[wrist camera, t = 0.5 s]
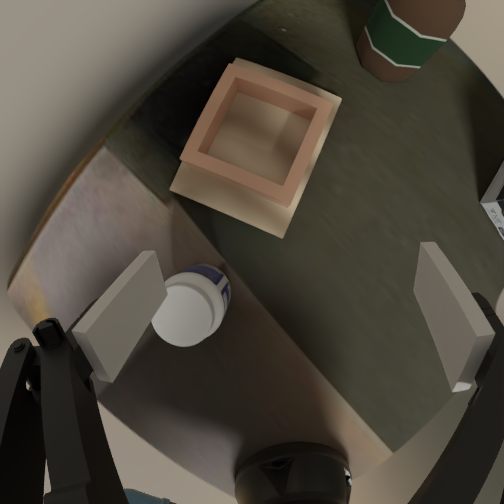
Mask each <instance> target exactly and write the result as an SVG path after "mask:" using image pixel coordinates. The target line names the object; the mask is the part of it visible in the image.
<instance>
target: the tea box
mask: <svg viewBox="0 0 504 504" xmlns="http://www.w3.org/2000/svg"><path fill="white" fill-rule="evenodd" d="M480 204H481V205H482V206H483V207H484V209H485V211H486V212H487V214H488V216H489V217H490V219H491V220H492V222H493V223H494V225H495V226H496V228H497V230H498V232H499V233H500V235H501V237H502V238H503V240H504V161H503V163H502V165H501V167H500V168H499V170H498V172H497V174H496V175H495V177H494V179H493V181H492V182H491V184H490V186H489V187H488V189H487V191H486V192H485V194H484V196H483V197H482V199H481V201H480Z"/></svg>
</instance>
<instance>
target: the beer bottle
mask: <svg viewBox="0 0 504 504" xmlns="http://www.w3.org/2000/svg"><path fill="white" fill-rule="evenodd" d="M465 7H466V3H465V0H378V2H377V4H376V6H375V8H374V10H373V12H372V14H371V16H370V18H369V19H368V21H367V23H366V25H365V27H364V29H363V31H362V33H361V35H360V37H359V39H358V42H357V44H356V48H357V52H358V55H359V58H360V61H361V64H362V67H363V68H365V69H366V70H367V71H369V72H370V73H371V74H373V75H374V76H375V77H377V78H378V79H379V80H381V81H388V82H405V81H406V80H407V79H409V78H410V77H411V76H412V75H413V74H414V73H415V72H416V71H417V70H418V69H419V68H420V67H421V66H422V65H423V64H424V63H425V62H426V61H427V60H428V59H429V58H430V57H431V56H432V55H433V54H434V53H435V52H436V51H437V50H438V49H439V48H440V47H441V46H442V45H443V44H444V43H445V42H446V41H447V40H448V38H449V37H450V36H451V34H452V33H453V32H454V31H455V29H456V28H457V26H458V24H459V23H460V21H461V20H462V18H463V15H464V11H465Z"/></svg>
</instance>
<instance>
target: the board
mask: <svg viewBox="0 0 504 504" xmlns="http://www.w3.org/2000/svg"><path fill="white" fill-rule="evenodd" d="M233 65H236V66H239V67H243V68H246V69H249V70H252V71H254V72H257V73H260V74H263V75H266V76H269V77H271V78H274V79H277V80H279V81H282V82H285V83H287V84H290V85H292V86H295V87H297V88H300V89H302V90H304V91H307V92H309V93H311V94H314V95H316V96H318V97H321V98H323V99H325V100H327V101H330V102H332V103H334V104H333V106H332V109H331V111H330V114H329V116H328V118H327V121H326V123H325V126H324V128H323V130H322V133H321V135H320V137H319V140H318V142H317V144H316V147H315V149H314V151H313V154H312V156H311V159H310V161H309V163H308V166H307V168H306V170H305V173H304V175H303V177H302V179H301V182H300V184H299V186H298V189H297V191H296V193H295V196H294V198H293V200H292V203H291V205H290V206H289V207H288V208H285V207H283V206H280V205H278V204H276V203H274V202H271V201H269V200H267V199H265V198H262V197H260V196H258V195H255V194H253V193H251V192H248V191H246V190H244V189H241V188H239V187H237V186H234V185H232V184H229V183H227V182H225V181H222V180H220V179H217V178H215V177H212V176H210V175H208V174H205V173H203V172H200V171H198V170H195V169H193V168H190V167H188V166H187V165H186V164H185V163H183V162H182V163H181V165H180V167H179V169H178V171H177V174H176V176H175V178H174V180H173V183H172V185H171V187H170V189H169V190H171V191H173V192H175V193H178V194H180V195H182V196H185V197H187V198H190V199H192V200H194V201H197V202H199V203H201V204H204V205H206V206H208V207H211V208H213V209H215V210H218V211H220V212H222V213H225V214H227V215H229V216H232V217H234V218H236V219H239V220H241V221H243V222H245V223H248V224H250V225H252V226H255V227H257V228H259V229H261V230H264V231H266V232H268V233H270V234H273V235H275V236H277V237H280V238H282V239H283V237H284V235H285V232H286V230H287V228H288V225H289V223H290V221H291V219H292V216H293V214H294V212H295V209H296V207H297V205H298V202H299V200H300V198H301V195H302V193H303V191H304V188H305V186H306V184H307V181H308V179H309V177H310V174H311V172H312V170H313V167H314V165H315V163H316V160H317V158H318V156H319V153H320V151H321V148H322V146H323V144H324V141H325V139H326V136H327V134H328V132H329V129H330V127H331V124H332V122H333V120H334V117H335V115H336V112H337V110H338V107H339V105H340V103H341V100H342V98H340V97H338V96H336V95H333V94H331V93H329V92H327V91H325V90H322V89H320V88H318V87H315V86H313V85H311V84H308V83H306V82H303V81H301V80H299V79H296V78H294V77H291V76H288V75H286V74H283V73H281V72H278V71H275V70H272V69H270V68H267V67H264V66H261V65H258V64H255V63H252V62H249V61H246V60H243V59H240V58H237V57H236V59H235V61H234V62H233ZM310 123H311V121H310V120H308V119H305V118H303V117H301V116H298V115H296V114H294V113H291V112H289V111H287V110H284V109H282V108H279V107H277V106H274V105H272V104H269V103H266V102H264V101H261V100H258V99H256V98H253V97H250V96H248V95H245V94H242V93H239V92H238V93H237V95H236V96H235V98H234V100H233V102H232V104H231V106H230V108H229V110H228V112H227V114H226V116H225V118H224V120H223V122H222V124H221V126H220V128H219V130H218V132H217V134H216V136H215V138H214V140H213V142H212V144H211V146H210V148H209V151H208V153H207V155H209V156H211V157H214V158H216V159H219V160H221V161H224V162H226V163H229V164H231V165H234V166H236V167H239V168H241V169H243V170H246V171H248V172H251V173H253V174H255V175H258V176H260V177H262V178H265V179H267V180H269V181H272V182H274V183H276V184H279V185H281V186H283V184H284V182H285V180H286V177H287V175H288V173H289V170H290V168H291V166H292V164H293V161H294V159H295V157H296V155H297V152H298V150H299V148H300V145H301V143H302V141H303V139H304V136H305V134H306V132H307V129H308V127H309V125H310Z"/></svg>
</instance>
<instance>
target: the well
mask: <svg viewBox="0 0 504 504" xmlns="http://www.w3.org/2000/svg"><path fill="white" fill-rule="evenodd" d="M238 92H239V93H242V94H245V95H248V96H250V97H253V98H256V99H258V100H261V101H264V102H266V103H269V104H272V105H274V106H277V107H279V108H282V109H284V110H287V111H289V112H291V113H294V114H296V115H298V116H301V117H303V118H305V119H308V120H310V121H311V123H310V125H309V127H308V129H307V132H306V134H305V136H304V139H303V141H302V143H301V145H300V148H299V150H298V152H297V155H296V157H295V159H294V161H293V164H292V166H291V168H290V170H289V173H288V175H287V177H286V180H285V182H284V184H283V186H281V185H279V184H276V183H274V182H272V181H269V180H267V179H265V178H262V177H260V176H258V175H255V174H253V173H251V172H248V171H246V170H243V169H241V168H239V167H236V166H234V165H231V164H229V163H226V162H224V161H221V160H219V159H216V158H214V157H211V156H209V155H207V153H208V151H209V148H210V146H211V144H212V142H213V140H214V138H215V136H216V134H217V132H218V130H219V128H220V126H221V124H222V122H223V120H224V118H225V116H226V114H227V112H228V110H229V108H230V106H231V104H232V102H233V100H234V98H235V96H236V95H237V93H238ZM333 104H334V103H332V102H330V101H327V100H325V99H323V98H321V97H318V96H316V95H314V94H311V93H309V92H307V91H304V90H302V89H300V88H297V87H295V86H292V85H290V84H287V83H285V82H282V81H279V80H277V79H274V78H271V77H269V76H266V75H263V74H260V73H257V72H254V71H252V70H249V69H246V68H243V67H239V66H236V65H233V64H230V63H229V64H228V66H227V68H226V70H225V71H224V73H223V75H222V77H221V78H220V80H219V82H218V84H217V86H216V87H215V89H214V91H213V93H212V95H211V97H210V99H209V100H208V102H207V104H206V106H205V108H204V110H203V112H202V114H201V116H200V118H199V120H198V122H197V124H196V126H195V128H194V130H193V132H192V134H191V136H190V138H189V140H188V142H187V144H186V146H185V148H184V150H183V152H182V154H181V156H180V160H181V161H182V162H183V163H185V164H186V165H187V166H188V167H190V168H193V169H195V170H198V171H200V172H203V173H205V174H208V175H210V176H212V177H215V178H217V179H220V180H222V181H225V182H227V183H229V184H232V185H234V186H237V187H239V188H241V189H244V190H246V191H248V192H251V193H253V194H255V195H258V196H260V197H262V198H265V199H267V200H269V201H271V202H274V203H276V204H278V205H280V206H283V207H285V208H288V207H289V206H290V205H291V203H292V200H293V198H294V196H295V193H296V191H297V189H298V186H299V184H300V182H301V179H302V177H303V175H304V173H305V170H306V168H307V166H308V163H309V161H310V159H311V156H312V154H313V151H314V149H315V147H316V144H317V142H318V140H319V137H320V135H321V133H322V130H323V128H324V126H325V123H326V121H327V118H328V116H329V114H330V111H331V109H332V106H333Z"/></svg>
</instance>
